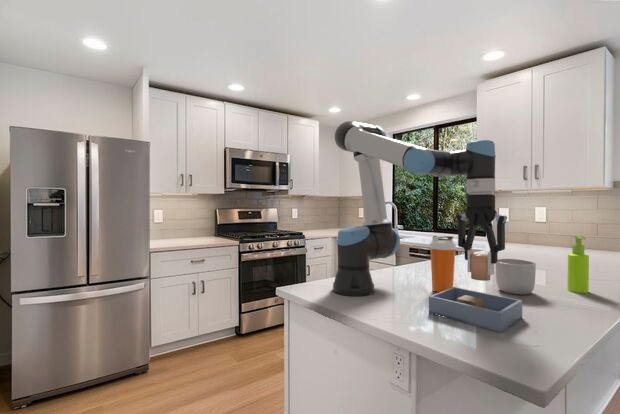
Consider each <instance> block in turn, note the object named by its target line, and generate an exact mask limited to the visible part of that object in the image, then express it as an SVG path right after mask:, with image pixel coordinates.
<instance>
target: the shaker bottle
mask: <svg viewBox="0 0 620 414" xmlns="http://www.w3.org/2000/svg"><path fill="white" fill-rule="evenodd" d="M454 238H455V237H454V236H450V235H448V236H445V235H444V236H437V235H433V237H432V240H431V241H430V243H429V250H430V268H431V269H430V271H431V287H432V288H431V290H432V291H433V290H434V291H433V292H435V291H437V292H436V293H438V292H442V291H444V290H447V289H450V288H452V287H454V277H455V261H456V259H455V258H456V249H457V246H456V245H457V244H456V243H455V241H453V239H454Z"/></svg>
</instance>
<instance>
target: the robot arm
mask: <svg viewBox="0 0 620 414" xmlns="http://www.w3.org/2000/svg"><path fill="white" fill-rule="evenodd" d="M334 141H335V144H336V146H337V147H338V148H339V149H340V150H342V151H345V152H349V153H352V154H353V160H354V161H355V162H357V164H358V174H359V180H360V190H361V197H362V206H363V213H364V222H363V223H362V224H361V225H356V226H348V227H343V228H341V229H340V230H339V231H338V232H337V239H336V245H337V246H336V247H337V249H336V250H337V271H336V274H335V276H334V277H335V278H334V281H333V283H332V290H333V292H334V293H335V294H339V295H342V296H349V297H362V296H363V297H364V296H369V295H371V294H374V292H375V284H374V281H373V279H372V278H373V277H372V274H371V270H370V261H372V260H379V259H386V258H389V257H392V256H394V255H395V254H396V253H397V251H399V248H400V244H401V238H400V234H399V233H398V232H397V230H396V229H395V228H393V224H392V222H391V220H389V219H388V216H387V214H388V213H387V207H386V201H385V200H386V199H385V191H384V183H383V176H382V169H381V168H382V167H381V161H383V162H387V163H389V164H392V165H396V166H397V167H401V168H404V169H405V170H406V171H407V172H409V173H410V174H414V175H419V176H422V175H425V176H426V175H431V176H433V177H438V178H440V177H441V178H445V177H452V176H453V177H455V176H466V193H467V196H466V210H465V212H464V213H461V214H456V219H457V246H458V247H459V248H463V250H464V259H465V261H467V272H468V273H471V254H475V249H473V243H474V240H475V237H476V236H475V235H476V232H477V229H478V228H479V227H478V226H480V227H481V226H482V228H483V229H484V232H485V235H486V239H487V243H488V247H489V251H488V252H487V255H488V275H490V276H492V275H494V274H495V265H496V263H497V262H498V260H497V259H499V258H498V256H499V255H498V254H499V252H500V251H505V250H506V227H505V226H506V222H507V219H508V216H507V215H501V214H499V213H497V211H496V195H495V194H494V193H495V192H496V157H497V155H496V146H495V145H496V144H495V142H494V141H493V140H491V139H490V140H488V139H480V140H479V139H477V140H472V141H469V142H467V143H466V147H465V149H463V150H454V151H444V150H437V149H430V148H426V147H422V146H419V145H415V144H411V143H408V142H404V141H401V140H397V139H394V138H390V137H388V136H387V134H386V132H385V131H384V129H383V128H382V127H381V126H378V125H375V124H373V123H369V124H368V123H363V122H358V121H352V120H350V121H349V120H347V121H344V122H342V123H341V124H339V126H338V127H336V129H335V133H334ZM467 219H468V221H469V224H468V231H466V230H467V222H466V221H467ZM494 220H495V221H496V237H495V232H494V229H493V228H494V227H493V223H492V222H493V221H494ZM466 232H467V233H466ZM466 234H467V235H466Z"/></svg>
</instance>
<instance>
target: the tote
mask: <svg viewBox="0 0 620 414" xmlns="http://www.w3.org/2000/svg"><path fill="white" fill-rule="evenodd" d="M464 295H467V296H472V297H477V298H482V299H483V308H481V307H477V306H472V305H468V304H464V303H459V302H457V298H459V297H462V296H464ZM430 313H433V314H432V315H434V314H437V315H440V316H439V317H441V316H444V317H443V318H445V317H446V318H445V319H448V318H449V320H452V319H453V320H452V321H456V322H459V321H460V323H464V324H467V323H468V324H467V325H470V324H472V325H471V326H474V325H475V326H474V327H477V326H478V327H477V328H481V327H482V328H481V329H484V330H488V329H489V331H492V330H493V332H496V333H499V332H500V334H501V332H502V333H503V332H504V330H505V331H506V330H507V329H509V328H510V327H513V325H514V323H517V322H519V321H520V320H521V319H523V300H522V299H516V298H512V297H507V296H501V295H497V294H492V293H486V292H483V291H481V292H480V291H476V290H471V289H466V288H461V287H457V286H453V287H452V288H450V289H447V290H444V291H442V292H439V293H438V292H436V293H434V294H431V295H429V296H428V314H430ZM437 315H436V316H437ZM508 327H509V328H508Z"/></svg>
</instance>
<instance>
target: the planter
mask: <svg viewBox="0 0 620 414" xmlns="http://www.w3.org/2000/svg"><path fill="white" fill-rule="evenodd" d="M497 260H498V262H497V263H495V280H496V285H497V288H498V289H499V290H501V291H502V292H504V293H507V294H513V295H529V294H531V293H533V291H534V290H535V284H536V274H537V273H536V270H537V269H536V268H537V267H536V266H537V264H536V262H534V261H532V260H526V259H518V258H498V259H497Z"/></svg>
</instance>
